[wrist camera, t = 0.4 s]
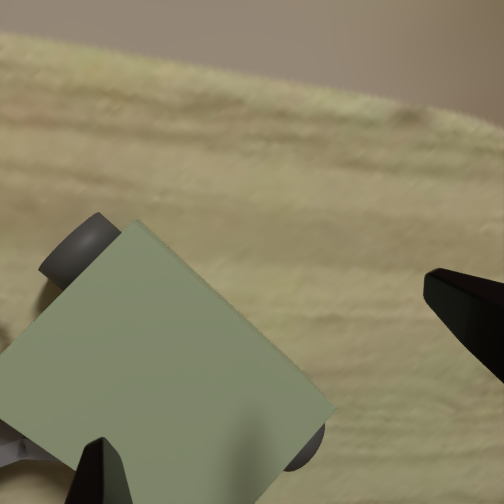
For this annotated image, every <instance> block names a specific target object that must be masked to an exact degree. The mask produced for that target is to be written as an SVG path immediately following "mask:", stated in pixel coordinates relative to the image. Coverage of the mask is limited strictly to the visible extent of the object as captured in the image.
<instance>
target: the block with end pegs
mask: <svg viewBox="0 0 504 504" xmlns="http://www.w3.org/2000/svg"><path fill="white" fill-rule="evenodd" d="M38 270H39V271H40V272H41V273H42V274H44V275H45V276H46V277H47V278H49V279H50V280H51V281H52V282H53V283H55V284H56V285H57V286H58V287H59V288H61V289H62V290H63V292H62V293H61V294H60V295H59V296H58V297H57V298H56V299H55V300H54V301H53V302H52V303H51V304H50V305H49V306H48V307H47V308H46V309H45V310H44V312H43V313H42V314H41V315H40V316H39V317H38V318H37V319H36V320H35V321H34V322H33V323H32V324H31V325H30V326H29V327H28V328H27V329H26V330H25V331H24V332H23V333H22V334H21V335H20V336H19V337H18V338H17V339H16V340H15V341H14V342H13V343H12V344H11V345H10V346H9V347H8V348H7V349H6V350H5V351H4V352H3V353H2V354H1V355H0V419H1V420H3V421H4V422H1V423H0V467H3V466H5V465H8V464H11V463H14V462H16V461H19V460H22V459H30V460H41V461H51V462H62V463H65V464H66V465H68V466H69V467H70V468H72V469H73V470H75V471H76V469H77V466H78V463H79V461H80V458H81V455H82V452H83V449H84V447H85V446H86V444H88V443H89V442H91V441H93V440H95V439H97V438H99V437H105V438H106V439H107V440H108V441H109V442H110V443H111V445H112V446H113V447H114V448H115V449H116V451H117V452H118V453H119V455H120V457H121V460H122V463H123V466H124V470H125V474H126V478H127V482H128V486H129V490H130V494H131V498H132V502H133V504H254V503H255V502H256V501H257V500H258V499H259V497H260V496H261V495H262V494H263V493H264V492H265V490H266V489H267V488H268V487H269V486H270V485H271V484H272V482H273V481H274V480H275V479H276V478H277V477H278V476H279V474H280V473H281V472H282V471H286V472H291V471H295V470H297V469H299V468H301V467H302V466H304V465H305V464H306V463H307V462H309V460H310V459H311V458H312V457H313V456H314V455H315V453H316V452H317V450H318V448H319V446H320V444H321V442H322V439H323V436H324V431H325V422H326V421H327V419H328V418H329V417H330V416H331V415H332V414H333V412H334V411H335V410H336V409H337V408H336V407H335V406H334V405H333V404H332V403H331V402H330V401H329V399H328V398H327V397H326V396H325V395H324V394H323V393H322V392H321V391H320V390H319V389H318V387H317V386H316V385H315V384H314V383H313V382H312V381H311V380H310V379H309V378H308V376H307V375H306V374H305V373H304V372H303V371H302V370H301V369H300V368H299V367H298V366H296V365H295V364H294V363H293V362H292V361H291V360H290V359H289V358H288V357H287V356H286V355H285V354H284V353H282V352H281V351H280V350H279V349H278V348H277V347H276V346H275V345H274V344H273V343H272V342H271V341H269V340H268V339H267V338H266V337H265V336H264V335H263V334H262V333H261V332H260V331H259V330H258V329H257V328H255V327H254V326H253V325H252V324H251V323H250V322H249V321H248V320H247V319H246V318H245V317H244V316H242V315H241V314H240V313H239V312H238V311H237V310H236V309H235V308H234V307H233V306H232V305H231V304H230V303H228V302H227V301H226V300H225V299H224V298H223V297H222V296H221V295H220V294H219V293H218V292H217V291H215V290H214V289H213V288H212V287H211V286H210V285H209V284H208V283H207V282H206V281H205V280H204V279H203V278H201V277H200V276H199V275H198V274H197V273H196V272H195V271H194V270H193V269H192V268H191V267H190V266H188V265H187V264H186V263H185V262H184V261H183V260H182V259H181V258H180V257H179V256H178V255H177V254H176V253H174V252H173V251H172V250H171V249H170V248H169V247H168V246H167V245H166V244H165V243H164V242H163V241H161V240H160V239H159V238H158V237H157V236H156V235H155V234H154V233H153V232H152V231H151V230H150V229H149V228H147V227H146V226H145V225H144V224H143V223H142V222H141V221H140V220H136V221H133V222H132V223H131V224H130V225H129V226H128V227H127V228H126V229H125V230H124V231H123V232H121V231H119V230H118V229H117V228H116V227H115V226H114V225H113V224H112V223H111V222H109V221H108V220H107V219H106V218H105V217H104V216H103V215H102V214H101V213H100V212H98V213H96V214H94V215H93V216H91V217H90V218H88V219H87V220H86V221H85V222H83V223H82V224H81V225H80V226H79V227H78V228H76V229H75V230H74V231H73V232H72V233H71V234H70V235H69V236H68V237H67V238H65V239H64V240H63V241H62V242H61V243H60V244H59V245H58V246H57V247H56V248H55V249H54V250H53V251H52V253H51V254H50V255H49V256H48V257H47V258H46V259H45V260H44V262H43V263H42V264H41V266H40V267H39V269H38Z"/></svg>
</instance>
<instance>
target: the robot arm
mask: <svg viewBox="0 0 504 504" xmlns="http://www.w3.org/2000/svg"><path fill="white" fill-rule="evenodd" d="M423 296H424V299H425V301H426V303H427V304H428V305H429V307H430V308H431V309H432V310H433V311H434V312H435V314H436V315H437V316H438V317H439V318H440V319H441V320H442V322H443V323H444V324H445V325H446V326H447V327H448V328H449V330H450V331H451V332H452V333H453V334H454V335H455V337H456V338H457V339H458V340H459V341H460V342H461V343H462V344H463V345H464V346H465V347H466V348H467V349H468V350H469V351H470V352H471V353H472V354H473V355H474V356H475V357H476V358H477V359H478V360H479V361H480V362H481V363H482V364H483V365H485V366H486V367H487V368H488V369H489V370H490V371H491V372H492V373H493V374H494V375H495V376H496V377H497V378H498V379H499V380H500V381H501V382H502V383H504V283H501V282H496V281H492V280H488V279H484V278H480V277H476V276H472V275H468V274H463V273H459V272H455V271H451V270H447V269H443V268H437V269H434V270H432V271H430V272H428V273H427V274H426V275H425V277H424V290H423ZM64 504H133V502H132V498H131V494H130V490H129V486H128V482H127V478H126V474H125V470H124V466H123V463H122V460H121V457H120V455H119V453H118V452H117V451H116V449H115V448H114V447H113V446H112V445H111V443H110V442H109V441H108V440H107V439H106V438H105V437H99V438H97V439H95V440H93V441H91V442H89V443H88V444H86V446H85V447H84V449H83V452H82V455H81V458H80V461H79V463H78V466H77V469H76V472H75V475H74V478H73V481H72V483H71V486H70V489H69V492H68V495H67V498H66V501H65V503H64Z"/></svg>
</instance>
